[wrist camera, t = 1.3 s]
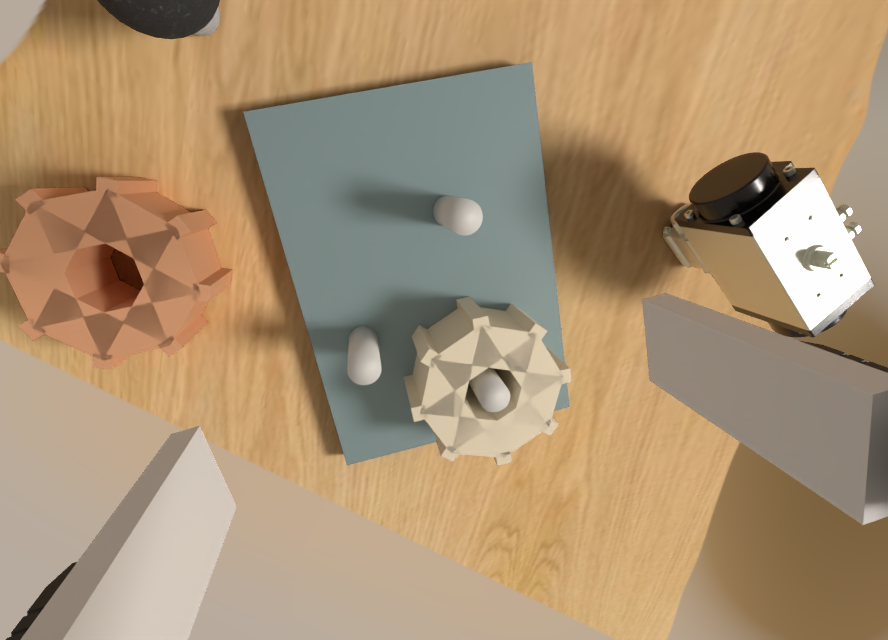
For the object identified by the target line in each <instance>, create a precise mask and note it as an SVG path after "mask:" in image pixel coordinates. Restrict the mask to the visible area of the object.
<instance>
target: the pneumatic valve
mask: <svg viewBox="0 0 888 640" xmlns="http://www.w3.org/2000/svg"><path fill="white" fill-rule="evenodd" d="M689 200H690V202H691V203H689V204H686V205H684V206H682V207H681V208H679V209H678V210H676V211H675V212H674V213H673V214H672V216H671V218H670V220H671V223H672V225H673V227H672V228H670V226H669V227H664V228H663V230H662V231H663V235H662V237H663V238H664V240H665V241H666V243H667V244H668V245H669V247H670V248H671V250H672V251H673V253H674V254H675V256H676V257H677V258H678V260H679V261H680V263H681V264H682V266H684V267H686V266H687V268H689V267H692V266H693V267H695V268H702V269H703V271H704V272H705V273H711V275H712V276H713V278H714V279H715V281H716V282H717V284H718V285H719V287H720V288H721V290H722V291H723V293H724V294H725V296H726V297H727V299H728V300H729V302H730V303H731V305H732V306H733V308H734V309H735V311H738V312H741V313H744V314H746V315H749V316H751V317H755V318H758V319H761V320H764V321H767V322H768V323H769V325H770V326H771V328H772V329H773V330H774V331H775V332H776V333H778V334H781V335H783V336H787V337H806V336H810V337H815V336H816V335H817V334H818V333H821V332H823V331H825V330H827V329H829V328H831V327H833V326H834V325H835V324H837V323H838V322H839V321H840V320H841V319H842V318H843V316H844V315H845V313H846V311H847V308H849V307H850V306H851V305H852V304H853V303H854V302H856V301H857V300H858V299H859V298H860V297H861V296H862V295H864V294H865V293H866V292H867V291H868V290H869V289H870V288H872V287H873V286H874V283H873V281H872V279H871V277H870V275H869V273H868V271H867V269H866V267H865V265H864V263H863V261H862V259H861V257H860V255H859V253H858V251H857V249H856V248H855V245H854V243H853V242H852V240H851V239H852V238H854V235H856V234H858V233H859V232H860V231H861V227H860V226H859V225H858V224H857V223H854V222H849V223H847V224H846V225H844V224H843V221H844V220H845V218H846V217H848V216H850V215H851V214H852V209H851V208H850V207H849V206H847V205H844V204H841V205H839V206H838V207H836V208H835V206H834V204H833V203H832V201H831V199H830V197H829V195H828V193H827V191H826V189H825V187H824V185H823V183H822V181H821V179H820V177H819V175H818V173H817V171H816V169H815V168H795V167H794V166H793V164H792V162H791V161H783V162H771V161H770V160H769V158H768V156H767V155H765V154H763V153H759V152H754V153H747V154H743V155H740V156H737V157H735V158H732V159H730V160H728V161H726V162H724V163H722V164H720V165H718V166H717V167H715V168H713V169H712V170H710V171H709V172H708V173H706V174H705V175H704V176H703V177H702V178H701V179H699V180H698V182H697V183H696V184H695V185H694V186H693V188H692V189H691V191H690V194H689Z"/></svg>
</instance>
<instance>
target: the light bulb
mask: <svg viewBox="0 0 888 640" xmlns="http://www.w3.org/2000/svg"><path fill="white" fill-rule="evenodd" d="M98 2H99V3H100V4H101V5H102V6H103V7H104V8H105V9H106V10H107V11H108V12H109V13H110V14H112V15H113V16H114V17H115V18H116V19H118V20H119V21H120V22H122V23H124V24H125V25H127V26H129V27H131V28H132V29H134V30H136V31H138V32H141V33H144V34H147V35H150V36H153V37H156V38H164V39H176V38H184V37H186V36H189V35H192V34H193V35H196V36H207V35H210V34H211V33H213V32H214V31H215V30H216V29H217V27H218V25H219V21H220V12H219V8H218V5H219V2H220V0H98Z"/></svg>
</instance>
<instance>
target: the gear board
mask: <svg viewBox="0 0 888 640" xmlns="http://www.w3.org/2000/svg"><path fill="white" fill-rule="evenodd" d="M243 113H244V117H245V120H246V123H247V127H248V130H249V134H250V137H251V140H252V144H253V147H254V151H255V154H256V157H257V161H258V164H259V168H260V171H261V174H262V178H263V181H264V185H265V188H266V191H267V195H268V198H269V202H270V205H271V208H272V212H273V215H274V219H275V222H276V225H277V229H278V232H279V236H280V239H281V242H282V246H283V249H284V253H285V256H286V259H287V263H288V266H289V270H290V273H291V276H292V280H293V283H294V287H295V290H296V293H297V297H298V300H299V304H300V307H301V310H302V314H303V317H304V321H305V324H306V327H307V331H308V334H309V338H310V341H311V344H312V348H313V351H314V355H315V358H316V361H317V365H318V368H319V372H320V375H321V378H322V382H323V385H324V389H325V392H326V395H327V399H328V402H329V406H330V409H331V412H332V416H333V419H334V423H335V426H336V429H337V433H338V436H339V440H340V443H341V446H342V450H343V453H344V456H345V460H346V463H347V465H350V464H354V463H358V462H361V461H365V460H369V459H373V458H377V457H380V456H384V455H388V454H392V453H396V452H399V451H403V450H407V449H411V448H415V447H418V446H422V445H426V444H430V443H434V442H437V445H438V448H439V451H440V454H441V456H442V457H444V458H446V459H448V460H450V461H452V462H453V461H454V460H455V459H456V457H457V456H458V455H459V454H465V455H476V456H488V457H494V459H495V461H496V463H497V465H502V464H506V463H509V462H512V461H511V455H510V453H512V452H513V451H515V450H516V449H518V448H519V447H521V446H522V445H523V444H525V443H526V442H528V441H529V440H531V439H532V438H534V437H535V436H537V435H538V434H540V433H541V432H544V433H546V434H548V435H549V436H550V435H551V434H552V433H553V431H554V430H555V429H556V427H557V426H558V425H559V424H558V423H557V422H556V421H555V419H554V418H553V417H552V416H553V412H554V411H556V410H559V409H563V408H567V407H569V397H568V388H567V383H569V382H571V374H570V368H569V367H568V366H567V365H566V364H565V361H564V352H563V343H562V333H561V324H560V315H559V306H558V297H557V288H556V279H555V269H554V260H553V251H552V242H551V233H550V224H549V214H548V205H547V196H546V187H545V178H544V169H543V160H542V150H541V141H540V132H539V123H538V114H537V105H536V96H535V86H534V77H533V68H532V62H530V63H524V64H518V65H513V66H507V67H501V68H495V69H489V70H484V71H478V72H472V73H466V74H460V75H455V76H449V77H443V78H437V79H431V80H425V81H420V82H414V83H408V84H402V85H396V86H391V87H385V88H379V89H373V90H367V91H362V92H356V93H350V94H344V95H338V96H332V97H327V98H321V99H315V100H309V101H303V102H298V103H292V104H286V105H280V106H274V107H269V108H263V109H257V110H251V111H245V112H243Z"/></svg>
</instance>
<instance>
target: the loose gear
mask: <svg viewBox="0 0 888 640" xmlns="http://www.w3.org/2000/svg"><path fill="white" fill-rule="evenodd" d="M156 185H157V181H156V180H151V179H146V178H141V177H96V190H95V191H88V190H87V189H86V188H85V187H69V188H35V189H30V190H28V191H27V192H25V193H24V194H23V195H21V196H20V197H18V198H17V199H15V200H16V201H17V202H18V203H19V204H20V205H21V206H22V207H23V208H24V209H25V210H26V213H25V215H24V217H23V219H22V221H21V223H20V225H19V227H18V229H17V231H16V233H15V235H14V237H13V239H12V241H11V243H10V245H9V247H8V248H6V249H1V250H0V272H3V273H5V274H6V276H7V278H8V280H9V282H10V284H11V286H12V288H13V290H14V292H15V294H16V296H17V298H18V300H19V302H20V304H21V306H22V308H23V310H24V312H25V314H26V316H27V318H28V320H27V321H25V322H24V323H23V324H21V325H20V326H18V327H19V328H20V329H21V330H22V331H23V332H24V333H26V334H27V335H28V336H29V337H30V338H31V339H32V340H35V339H37V338H39V337H41V336H43V335H48V336H50V337H52V338H54V339H56V340H58V341H61V342H63V343H65V344H67V345H69V346H72V347H74V348H76V349H78V350H80V351H82V352H85V353H87V354H89V355H91V356H93V367H94V368H103V369H114V368H115V367H116V366H118V365H119V364H120V363H121V362H123V361H124V360H125V359H126V358H128V357H129V356H130V355H132V354H135V353H140V352H144V351H149V350H153V349H158V348H161V349H162V350H163V351H164V352H165V353H166V354H167V355H168V356H171V355H172V354H174V353H175V352H177V351H178V350H179V349H181V348H182V347H183V346H185V345H186V344H187V343H188V342H189V341H190V340H191V339H192V338H193V337H194V336H195V335H196V334H197V333H198V332H199V331H200V330H201V329H202V328H203V327H204V326H205V325H206V324H207V323H208V322H207V320H206V319H205V318H204V317H203V316H202V315H201V314H202V313H203V311H204V309H205V308H206V306H207V304H208V303H209V302H210V301H212V300H213V299H214V298H215V297H216V296H218V295H219V294H220V293H221V292H222V291H224V290H225V289H226V288H227V287H228V286H230V285H231V280H232V270H230V269H224V268H221V265H220V262H219V259H218V256H217V253H216V251H215V248H214V245H213V242H212V239H211V236H210V233H209V230H208V229H209V228H210V227H211V226H213V225H214V224H216V221H215V220H214V219H213V218H212V217H211V215H210V214H209V213H208V212H207V211H206V210H202V211H197V212H190V211H188V210H186V209H185V208H183V207H181V206H180V205H178V204H176V203H174V202H173V201H171V200H169V199H168V198H166V197H164V196H162V195H161V194H159V193H157V192H156ZM115 249H117V250H119V251H121V252H123V253H124V254H126V255H128V256H130V257H132V258H134V260H135V263H136V265H137V268H138V270H139V273H140V275H141V278H142V280H143V283H144V286H143V287H142V289H141V291H140V290H138V289H136V288H134V287H132V286H130V285H128V284H126V283H124V282H122V281H120V280H119V278H118V275H117V273H116V270H115V268H114V266H113V263H112V261H111V258H110V257H111V255H112V254H113V252H114V250H115Z"/></svg>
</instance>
